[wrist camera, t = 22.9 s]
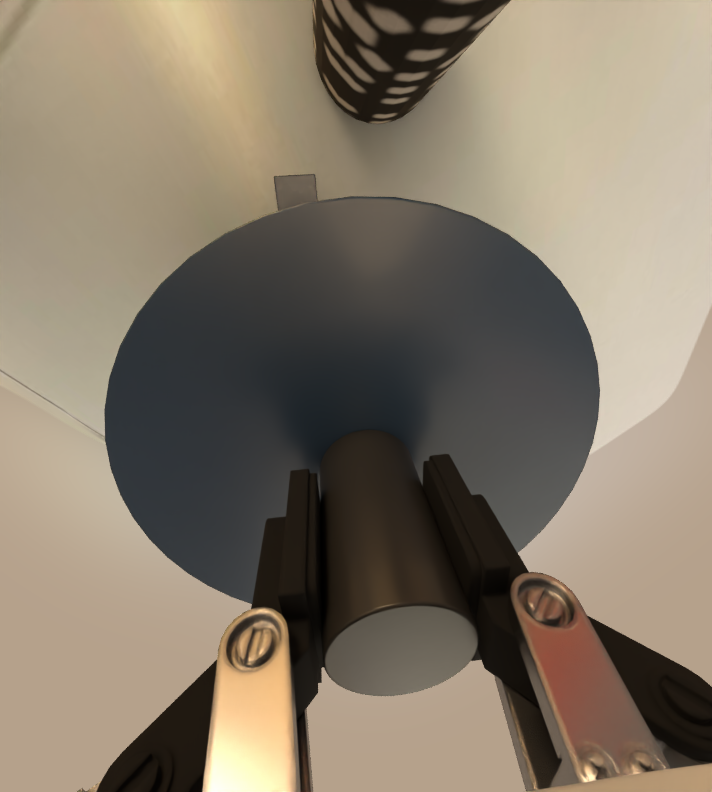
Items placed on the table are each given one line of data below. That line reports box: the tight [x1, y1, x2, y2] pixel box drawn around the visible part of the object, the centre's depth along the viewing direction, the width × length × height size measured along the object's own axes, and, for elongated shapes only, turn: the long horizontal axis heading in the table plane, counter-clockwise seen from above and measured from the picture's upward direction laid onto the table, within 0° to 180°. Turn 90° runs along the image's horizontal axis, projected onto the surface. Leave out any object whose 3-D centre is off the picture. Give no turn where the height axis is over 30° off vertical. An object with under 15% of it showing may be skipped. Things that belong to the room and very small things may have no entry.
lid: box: [105, 197, 600, 696], centre depth 10 cm, size 17×17×7 cm
